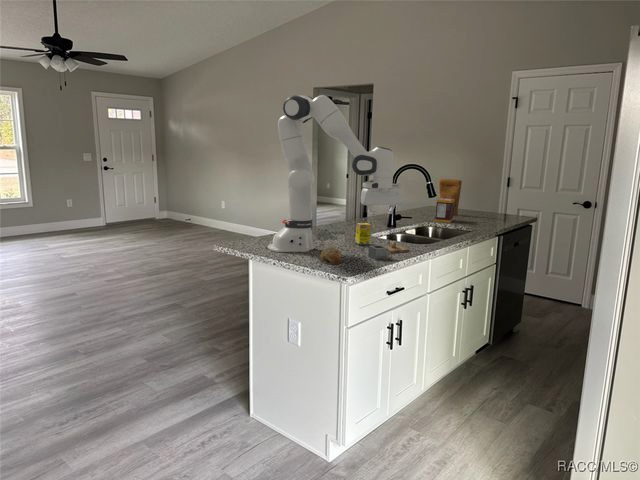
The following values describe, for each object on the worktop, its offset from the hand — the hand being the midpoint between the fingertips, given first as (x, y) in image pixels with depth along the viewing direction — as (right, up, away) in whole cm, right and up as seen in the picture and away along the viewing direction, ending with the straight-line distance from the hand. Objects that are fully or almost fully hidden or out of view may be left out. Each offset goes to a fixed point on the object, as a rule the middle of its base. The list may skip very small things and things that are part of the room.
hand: (381, 214), depth 209 cm
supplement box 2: (+62, +2, +124) cm, 139 cm away
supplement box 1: (-6, -14, +31) cm, 35 cm away
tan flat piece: (+9, -17, +20) cm, 28 cm away
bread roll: (-23, -21, -7) cm, 32 cm away
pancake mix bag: (+73, +8, +155) cm, 172 cm away
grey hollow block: (-1, -20, +3) cm, 20 cm away
